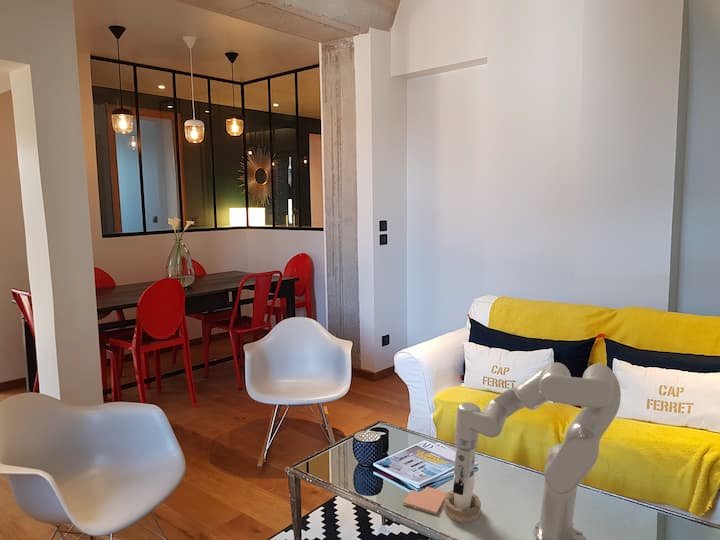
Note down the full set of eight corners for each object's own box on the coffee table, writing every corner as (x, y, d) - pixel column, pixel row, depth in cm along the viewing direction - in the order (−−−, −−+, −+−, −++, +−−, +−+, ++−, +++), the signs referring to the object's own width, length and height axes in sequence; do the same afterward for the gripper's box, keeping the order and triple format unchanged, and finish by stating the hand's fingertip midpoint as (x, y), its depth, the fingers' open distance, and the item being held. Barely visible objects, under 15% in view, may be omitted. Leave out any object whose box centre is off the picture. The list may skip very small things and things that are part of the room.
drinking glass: (471, 518, 186) (474, 478, 183) (451, 515, 187) (453, 476, 184) (471, 505, 193) (474, 467, 189) (452, 502, 194) (454, 464, 190)
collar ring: (483, 505, 193) (483, 495, 192) (474, 526, 182) (475, 515, 181) (449, 495, 198) (450, 485, 197) (439, 515, 187) (440, 505, 186)
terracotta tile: (446, 494, 198) (447, 492, 198) (436, 514, 188) (436, 512, 187) (415, 485, 203) (415, 483, 203) (403, 504, 193) (403, 502, 192)
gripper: (470, 456, 175) (466, 503, 179) (483, 430, 190) (479, 474, 194) (447, 449, 178) (443, 496, 182) (462, 425, 193) (458, 468, 197)
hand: (461, 485), depth 188 cm, fingers open, 9 cm apart
